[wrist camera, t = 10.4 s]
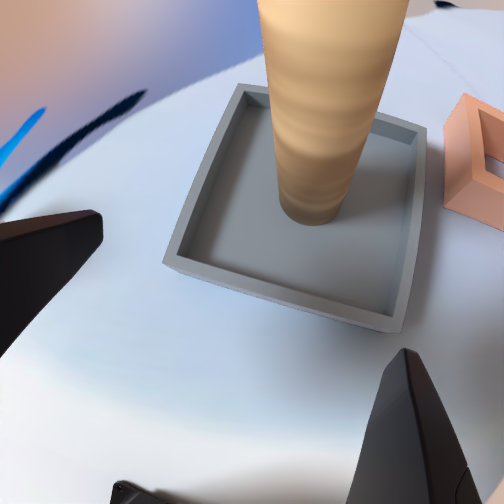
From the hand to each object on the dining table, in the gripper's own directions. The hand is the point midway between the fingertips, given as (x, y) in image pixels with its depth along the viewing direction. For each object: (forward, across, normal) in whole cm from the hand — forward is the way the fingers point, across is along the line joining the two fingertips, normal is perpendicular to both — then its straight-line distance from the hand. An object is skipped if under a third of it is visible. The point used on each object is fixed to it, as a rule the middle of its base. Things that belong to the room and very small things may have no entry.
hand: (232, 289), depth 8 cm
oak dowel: (+10, 0, +1) cm, 10 cm away
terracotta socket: (+16, -11, -4) cm, 20 cm away
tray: (+11, 0, +2) cm, 11 cm away
